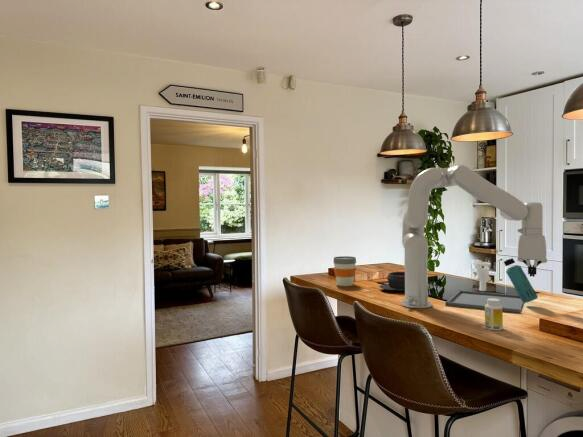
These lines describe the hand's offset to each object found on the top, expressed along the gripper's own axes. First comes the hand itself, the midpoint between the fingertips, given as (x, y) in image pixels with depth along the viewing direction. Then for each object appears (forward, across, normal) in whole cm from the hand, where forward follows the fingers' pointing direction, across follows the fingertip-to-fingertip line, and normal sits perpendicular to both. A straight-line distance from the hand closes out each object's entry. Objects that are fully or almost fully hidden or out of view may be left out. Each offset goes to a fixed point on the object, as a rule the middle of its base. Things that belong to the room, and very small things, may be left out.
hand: (532, 276), depth 173 cm
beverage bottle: (+12, 0, 0) cm, 12 cm away
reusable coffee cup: (+13, -91, +10) cm, 92 cm away
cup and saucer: (+13, -58, +10) cm, 60 cm away
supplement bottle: (+13, -10, -40) cm, 43 cm away
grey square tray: (+13, -18, 0) cm, 22 cm away
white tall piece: (+13, -23, +26) cm, 37 cm away
